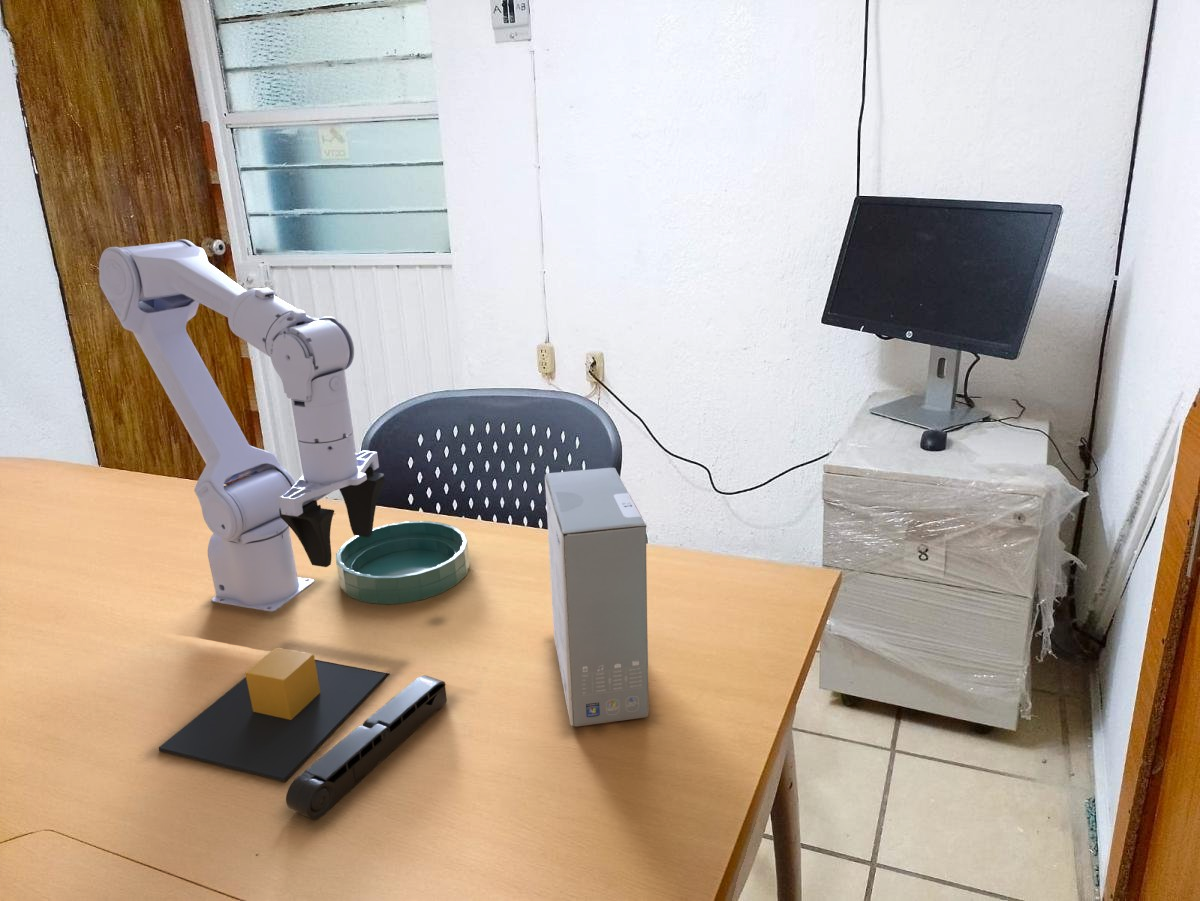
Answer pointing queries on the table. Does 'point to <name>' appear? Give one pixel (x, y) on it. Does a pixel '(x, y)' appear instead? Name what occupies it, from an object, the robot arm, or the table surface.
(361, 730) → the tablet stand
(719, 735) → the table surface
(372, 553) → the bowl
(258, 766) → the mat
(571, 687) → the hard drive box
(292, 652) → the block
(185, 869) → the table surface
